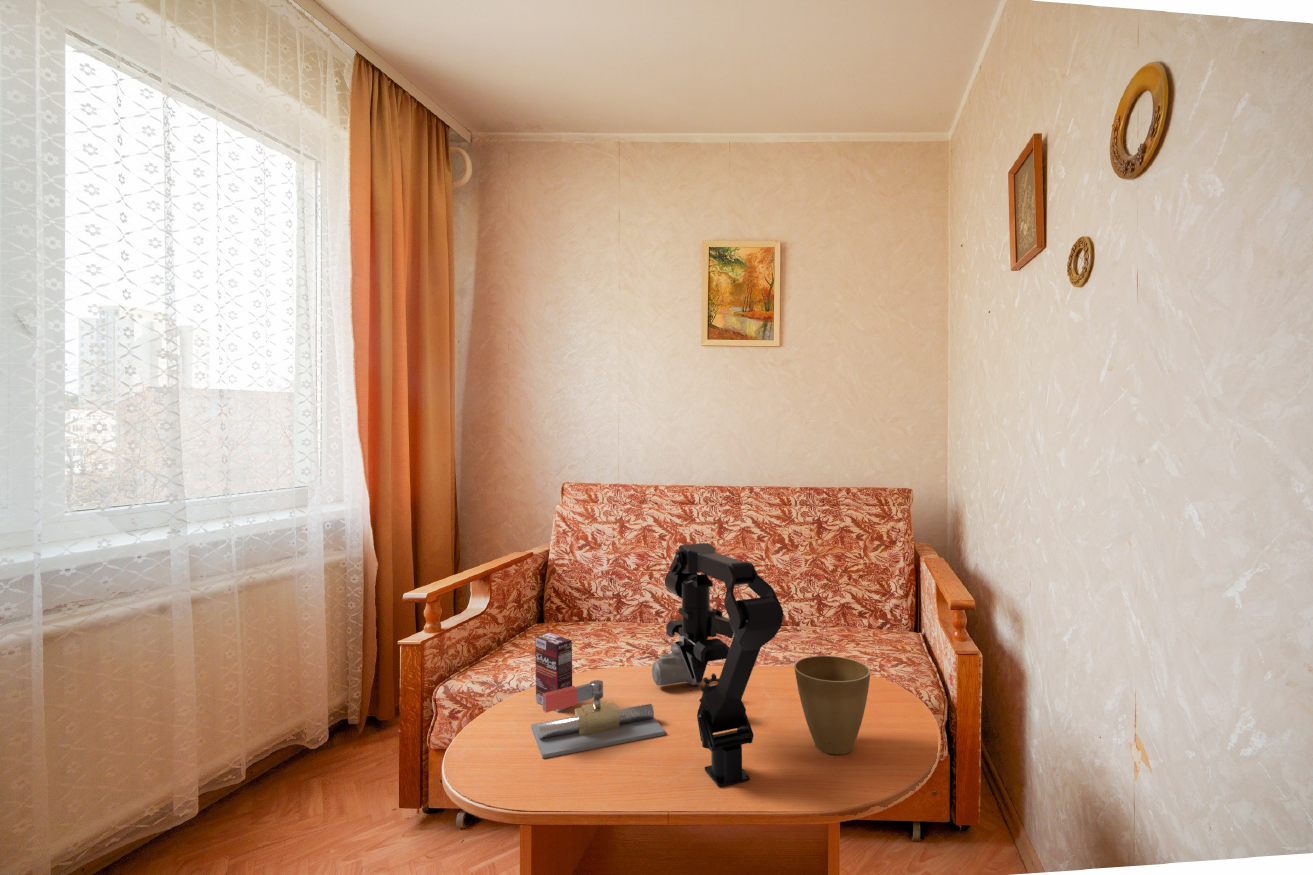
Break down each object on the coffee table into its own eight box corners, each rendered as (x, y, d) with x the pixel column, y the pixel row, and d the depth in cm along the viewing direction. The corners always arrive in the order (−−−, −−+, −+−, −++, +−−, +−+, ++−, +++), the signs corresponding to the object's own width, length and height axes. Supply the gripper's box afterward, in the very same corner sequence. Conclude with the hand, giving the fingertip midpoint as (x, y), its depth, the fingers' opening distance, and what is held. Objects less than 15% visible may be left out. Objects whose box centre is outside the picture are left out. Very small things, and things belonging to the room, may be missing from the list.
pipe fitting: (693, 677, 164) (692, 638, 164) (704, 689, 156) (703, 648, 156) (649, 683, 160) (648, 643, 160) (658, 695, 153) (657, 653, 153)
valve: (739, 722, 138) (727, 699, 150) (738, 692, 138) (727, 672, 150) (709, 724, 137) (700, 701, 149) (709, 694, 137) (699, 673, 149)
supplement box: (534, 702, 149) (533, 636, 149) (550, 696, 153) (549, 631, 153) (557, 713, 144) (556, 644, 144) (573, 706, 147) (572, 638, 147)
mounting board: (643, 708, 146) (643, 704, 146) (665, 734, 132) (665, 730, 132) (531, 727, 136) (531, 724, 136) (542, 758, 123) (542, 754, 123)
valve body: (648, 713, 141) (647, 685, 141) (655, 721, 137) (654, 692, 137) (537, 733, 132) (536, 703, 132) (540, 742, 128) (540, 711, 128)
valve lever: (599, 693, 136) (599, 678, 136) (605, 698, 134) (605, 682, 134) (541, 708, 129) (541, 692, 129) (546, 713, 127) (546, 697, 127)
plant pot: (880, 739, 129) (879, 662, 129) (858, 772, 117) (857, 687, 116) (810, 722, 137) (809, 649, 137) (783, 750, 125) (782, 671, 125)
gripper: (753, 612, 122) (753, 691, 123) (710, 590, 140) (711, 659, 140) (701, 619, 118) (702, 700, 119) (664, 595, 136) (665, 666, 136)
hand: (696, 680), depth 128 cm, fingers closed
